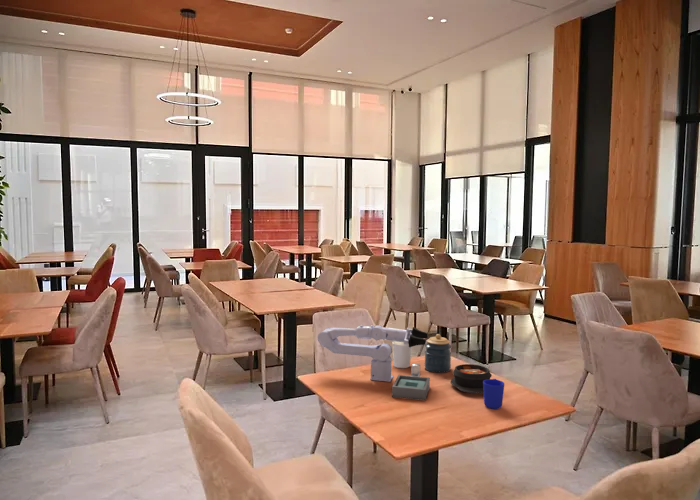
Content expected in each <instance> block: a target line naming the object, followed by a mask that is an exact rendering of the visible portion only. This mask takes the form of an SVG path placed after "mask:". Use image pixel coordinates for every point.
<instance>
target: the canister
mask: <svg viewBox="0 0 700 500" xmlns="http://www.w3.org/2000/svg"><path fill="white" fill-rule="evenodd" d="M450 343H451V341H450V340H448V339H447V338H446V337H442V336H441V334H440V333H436V335H435V336H430V337H429V338H426V344H425V345H424V347H425V350H424V365H423V366H424V369H425V371H428V372H431V373H448V372H450V371H451V367H452V364H451V362H452V361H451V360H452V352H451V349H452V345H451V344H450Z"/></svg>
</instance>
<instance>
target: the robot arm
mask: <svg viewBox="0 0 700 500" xmlns="http://www.w3.org/2000/svg"><path fill="white" fill-rule="evenodd" d="M352 336H353V337H354V336H355V337H356V338H357V339H367V340H369V339H370V340H371V339H373V340H375V341H380V340H385V341H390V342H391V341H392V342H393V341H398V342H404V344H405V345H408V344H409V347H411V348H412V347H415V346H423V345H424V346H425V344H426V343H427V339H429V338H428V336H429V333H428V332H425V331H422V330H420V329H419V328H416V327H415V326H413V327H412V328H409V327H406V329H401V328H396V327H395V328H394V327H383V326H382V325H379V324H376V325H372V324H371V325H370V326H369V325H367V326H366V325H364V324H360V325H359V326H357V327H356V328H352V327H350V328H348V327H347V328H346V327H326V328H324V330H322V331H321V332H318V335H317V341H318V343H319V344H320V346H321V347H323V348H325V349H327V350H328V351H330V352H331V353H333V354H338V355H351V356H358V357H359V356H361V357H362V356H363V357H370V358H371V362H370V380H371V381H378V382H379V381H380V382H390V383H391V381H392V379H393V378H394V375H392V361H393V358H392V357H391V355H392V354H393V346H391V345H390V344H389V343H387V342H385V343H382V344H373V345H372V344H371V345H369V344H368V345H367V344H358V343H345V342H340V340H339V339H338V337H352Z"/></svg>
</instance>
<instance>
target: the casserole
mask: <svg viewBox="0 0 700 500" xmlns="http://www.w3.org/2000/svg"><path fill="white" fill-rule="evenodd" d="M452 374H453V377H452V378H451V380H450V384H451V385H452V386H454V387H456V388H457V389H458V390H459V392H464V393H467V394H468V393H469V394H484V391H483V381H484V380H487V379H491V378H492V376H493V375H492V373H491V371H490V369H489V368H487V367H485V366H483V365H481V364H480V365H479V364H471V363H470V364H469V363H465V364H459V365H456V366H455V367H454V369H453V371H452Z"/></svg>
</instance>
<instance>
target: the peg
mask: <svg viewBox="0 0 700 500" xmlns="http://www.w3.org/2000/svg"><path fill="white" fill-rule="evenodd" d="M410 367H411V368H410V369H411V372H410V373H411V374H410V376H417V377H421V364H420V363H417V362H416V363H414V362H413V363H412V364H411V365H410Z"/></svg>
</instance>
